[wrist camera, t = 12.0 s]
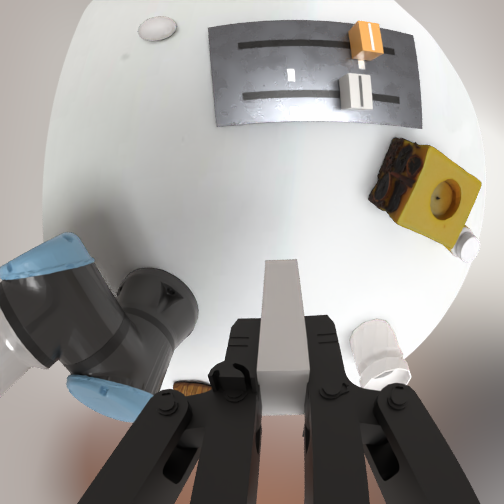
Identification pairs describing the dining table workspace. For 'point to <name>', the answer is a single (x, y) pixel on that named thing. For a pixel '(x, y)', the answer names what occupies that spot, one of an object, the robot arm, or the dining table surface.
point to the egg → (157, 28)
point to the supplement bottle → (466, 245)
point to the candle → (425, 191)
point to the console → (308, 74)
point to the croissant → (191, 388)
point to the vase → (378, 355)
